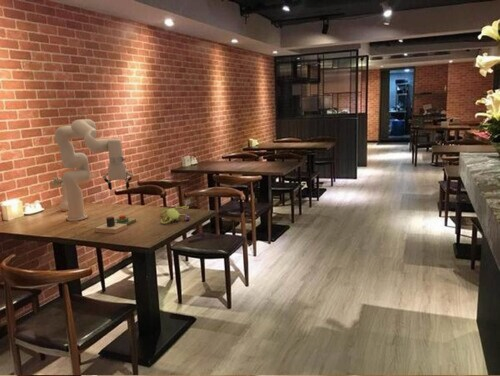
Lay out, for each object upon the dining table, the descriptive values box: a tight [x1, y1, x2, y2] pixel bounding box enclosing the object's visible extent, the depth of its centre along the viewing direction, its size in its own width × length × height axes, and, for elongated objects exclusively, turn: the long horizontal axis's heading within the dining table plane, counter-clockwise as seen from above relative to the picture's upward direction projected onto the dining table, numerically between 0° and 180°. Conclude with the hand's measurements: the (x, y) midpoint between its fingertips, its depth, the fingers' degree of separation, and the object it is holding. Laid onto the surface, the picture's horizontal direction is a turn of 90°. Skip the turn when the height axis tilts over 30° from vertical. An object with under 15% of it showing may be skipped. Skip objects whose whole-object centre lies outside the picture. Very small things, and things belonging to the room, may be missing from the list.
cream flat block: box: [94, 222, 128, 234], centre depth 246 cm, size 14×11×3 cm
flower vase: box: [49, 175, 69, 212], centre depth 299 cm, size 13×18×25 cm
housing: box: [114, 216, 137, 227], centre depth 259 cm, size 12×10×4 cm
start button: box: [118, 214, 127, 219], centre depth 259 cm, size 4×4×2 cm
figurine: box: [160, 205, 191, 225], centre depth 267 cm, size 18×27×6 cm
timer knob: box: [105, 216, 115, 227], centre depth 245 cm, size 4×4×5 cm
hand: (119, 189), depth 248 cm, fingers open, 9 cm apart
